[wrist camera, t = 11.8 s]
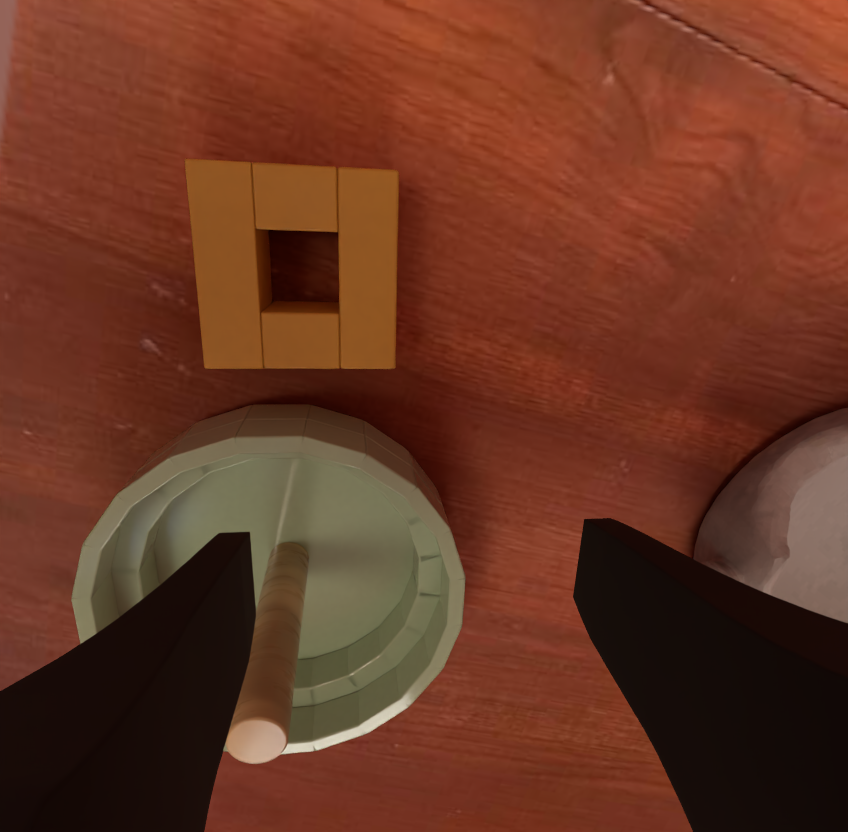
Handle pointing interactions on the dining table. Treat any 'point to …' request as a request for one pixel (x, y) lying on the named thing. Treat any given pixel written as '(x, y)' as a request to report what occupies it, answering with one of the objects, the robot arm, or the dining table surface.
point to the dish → (788, 519)
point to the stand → (251, 270)
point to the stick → (271, 660)
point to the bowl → (309, 527)
